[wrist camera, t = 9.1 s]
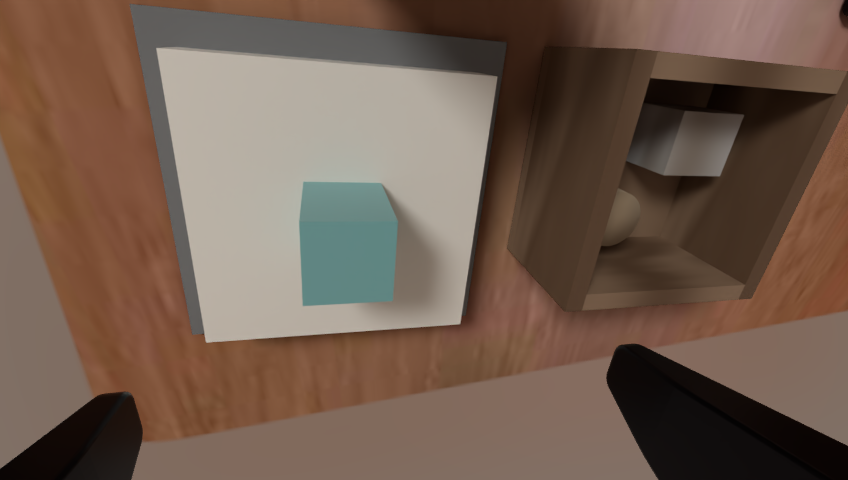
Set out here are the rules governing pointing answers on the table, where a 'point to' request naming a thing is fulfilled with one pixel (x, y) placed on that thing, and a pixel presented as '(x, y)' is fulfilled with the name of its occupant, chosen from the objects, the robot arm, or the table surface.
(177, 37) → the mat
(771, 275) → the table surface
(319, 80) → the lid
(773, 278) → the table surface
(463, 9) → the table surface
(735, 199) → the parts box
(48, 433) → the robot arm
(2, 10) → the table surface
